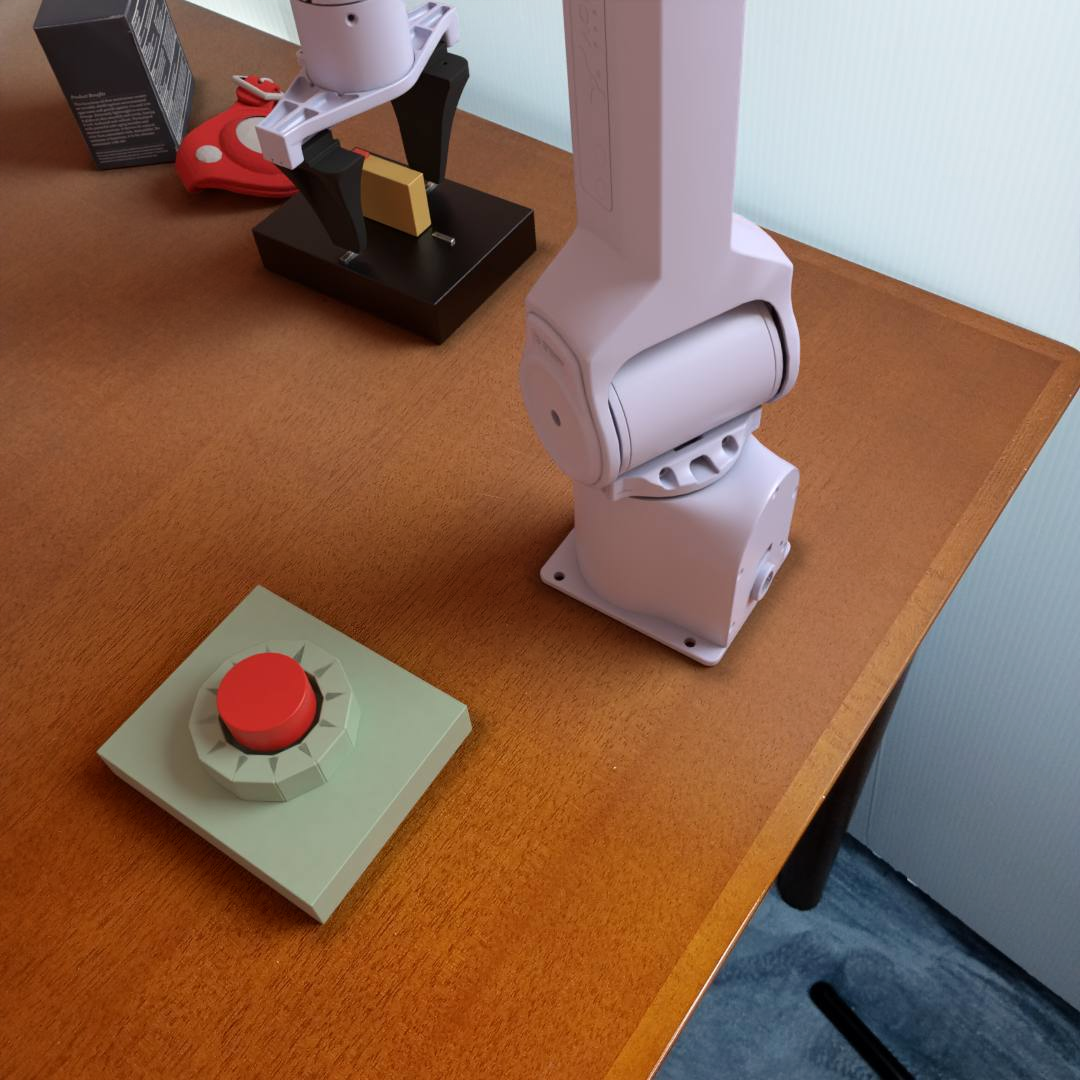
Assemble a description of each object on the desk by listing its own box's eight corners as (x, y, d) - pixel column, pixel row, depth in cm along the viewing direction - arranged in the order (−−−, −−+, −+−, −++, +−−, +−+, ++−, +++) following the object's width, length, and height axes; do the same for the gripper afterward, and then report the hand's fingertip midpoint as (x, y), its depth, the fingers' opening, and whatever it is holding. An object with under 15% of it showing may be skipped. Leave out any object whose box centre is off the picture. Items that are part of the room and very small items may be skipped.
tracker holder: (352, 164, 71) (207, 187, 66) (344, 215, 75) (206, 240, 70) (276, 50, 76) (135, 63, 71) (272, 103, 79) (137, 120, 74)
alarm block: (473, 729, 47) (462, 684, 43) (324, 925, 42) (299, 890, 39) (270, 610, 51) (247, 560, 48) (115, 774, 46) (77, 731, 43)
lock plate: (537, 250, 66) (534, 206, 64) (441, 345, 62) (433, 302, 59) (364, 185, 72) (355, 143, 69) (263, 269, 67) (249, 226, 64)
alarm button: (334, 699, 44) (325, 677, 42) (275, 768, 42) (264, 748, 41) (270, 659, 45) (259, 637, 44) (210, 724, 43) (196, 703, 42)
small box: (112, 92, 81) (53, -53, 73) (197, 82, 81) (149, -63, 73) (91, 172, 75) (25, 24, 66) (184, 161, 75) (130, 12, 66)
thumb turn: (431, 224, 64) (422, 169, 61) (417, 237, 63) (407, 182, 60) (367, 200, 66) (355, 145, 63) (352, 212, 65) (339, 157, 62)
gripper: (373, -95, 58) (411, 132, 69) (182, 25, 51) (258, 257, 62) (478, -70, 55) (501, 162, 66) (292, 61, 48) (351, 296, 59)
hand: (390, 210), depth 64 cm, fingers open, 7 cm apart
